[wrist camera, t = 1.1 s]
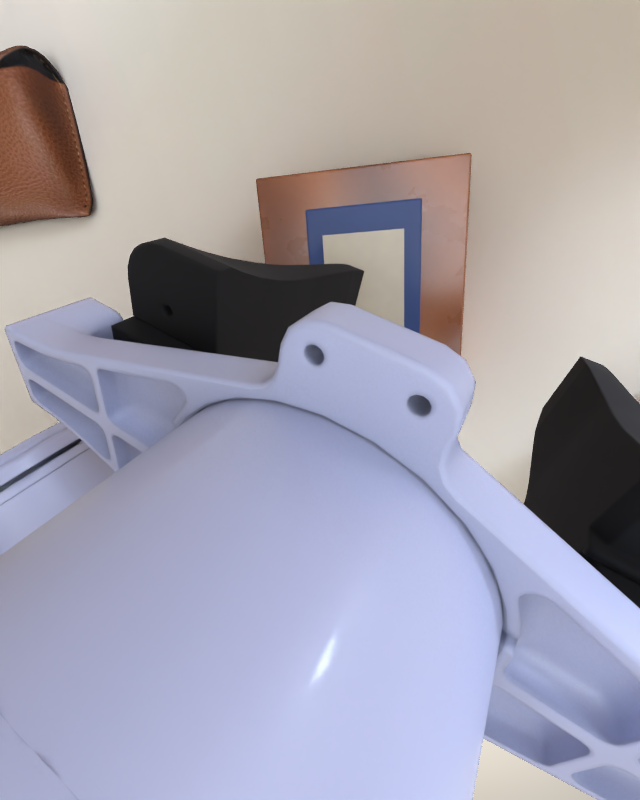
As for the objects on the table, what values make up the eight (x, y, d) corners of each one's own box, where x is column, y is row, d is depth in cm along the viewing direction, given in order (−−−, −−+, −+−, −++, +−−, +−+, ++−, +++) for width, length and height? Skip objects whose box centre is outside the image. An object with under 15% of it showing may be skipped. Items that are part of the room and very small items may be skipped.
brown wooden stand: (296, 371, 27) (269, 402, 21) (278, 189, 23) (241, 172, 18) (450, 369, 25) (464, 402, 19) (459, 169, 21) (479, 141, 15)
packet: (332, 356, 22) (317, 378, 18) (323, 217, 19) (304, 209, 15) (416, 354, 21) (419, 378, 17) (418, 207, 18) (422, 197, 15)
